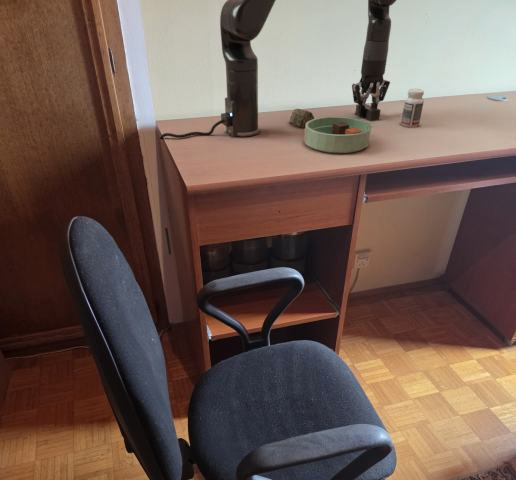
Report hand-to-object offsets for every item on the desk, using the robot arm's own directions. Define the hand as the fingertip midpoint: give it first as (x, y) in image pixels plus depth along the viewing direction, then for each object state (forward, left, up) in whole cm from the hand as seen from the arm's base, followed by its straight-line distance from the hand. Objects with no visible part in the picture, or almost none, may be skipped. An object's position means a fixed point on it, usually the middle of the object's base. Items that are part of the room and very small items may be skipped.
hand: (366, 116), depth 153 cm
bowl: (-25, -20, 0) cm, 32 cm away
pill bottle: (+7, -14, 0) cm, 16 cm away
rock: (-24, +2, 0) cm, 24 cm away
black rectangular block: (0, 0, 0) cm, 0 cm away
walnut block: (-22, -17, 0) cm, 27 cm away
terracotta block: (-22, -23, 0) cm, 32 cm away
